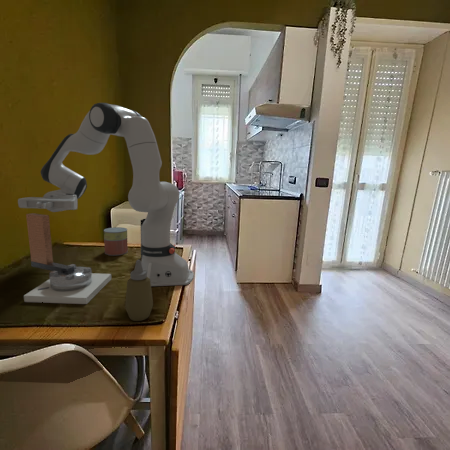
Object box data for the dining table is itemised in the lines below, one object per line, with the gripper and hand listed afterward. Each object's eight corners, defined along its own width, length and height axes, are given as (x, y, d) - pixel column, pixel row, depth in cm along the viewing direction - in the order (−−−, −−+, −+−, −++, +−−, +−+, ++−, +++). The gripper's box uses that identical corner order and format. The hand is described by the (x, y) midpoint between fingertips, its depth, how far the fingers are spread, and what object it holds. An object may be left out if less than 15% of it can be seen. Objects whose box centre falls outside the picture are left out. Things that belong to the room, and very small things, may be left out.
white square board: (111, 279, 107) (111, 273, 106) (86, 304, 87) (86, 297, 86) (60, 277, 106) (60, 271, 106) (24, 301, 87) (23, 294, 86)
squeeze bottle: (155, 309, 86) (155, 256, 82) (149, 324, 78) (149, 265, 74) (130, 309, 85) (128, 255, 82) (121, 323, 77) (119, 264, 74)
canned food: (110, 248, 145) (109, 226, 143) (131, 249, 145) (130, 227, 142) (100, 254, 134) (99, 231, 132) (122, 256, 134) (121, 232, 131)
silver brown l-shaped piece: (100, 279, 100) (96, 217, 95) (70, 294, 88) (64, 224, 83) (51, 268, 108) (46, 211, 103) (18, 281, 96) (10, 216, 91)
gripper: (27, 192, 112) (7, 196, 99) (80, 194, 116) (68, 198, 103) (29, 207, 113) (9, 213, 100) (81, 209, 117) (69, 215, 104)
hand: (40, 206), depth 101 cm, fingers closed
